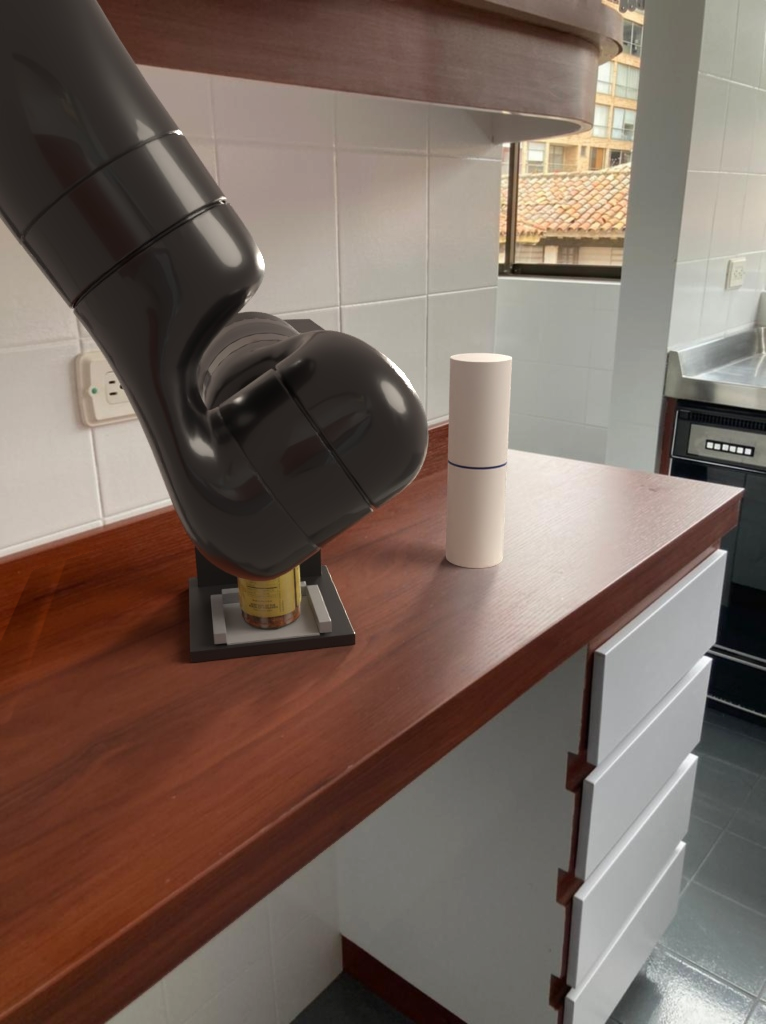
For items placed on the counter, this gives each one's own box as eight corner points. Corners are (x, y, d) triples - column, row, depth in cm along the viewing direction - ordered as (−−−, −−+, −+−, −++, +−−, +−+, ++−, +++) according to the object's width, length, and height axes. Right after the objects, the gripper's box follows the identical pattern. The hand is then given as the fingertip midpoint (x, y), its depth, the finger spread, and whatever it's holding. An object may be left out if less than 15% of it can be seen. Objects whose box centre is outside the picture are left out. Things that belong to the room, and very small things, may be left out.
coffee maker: (191, 663, 78) (162, 345, 68) (189, 587, 94) (166, 322, 85) (355, 644, 81) (350, 339, 71) (326, 574, 98) (319, 318, 88)
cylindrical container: (440, 564, 100) (444, 360, 92) (451, 544, 107) (456, 352, 99) (498, 570, 99) (507, 363, 90) (506, 549, 105) (515, 354, 97)
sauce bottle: (264, 600, 88) (254, 418, 81) (313, 612, 85) (307, 425, 78) (226, 625, 82) (212, 432, 76) (277, 638, 79) (267, 440, 73)
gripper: (378, 316, 48) (330, 294, 63) (126, 321, 45) (139, 297, 60) (378, 439, 51) (332, 390, 65) (140, 453, 47) (148, 398, 62)
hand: (240, 346), depth 63 cm, fingers open, 8 cm apart
